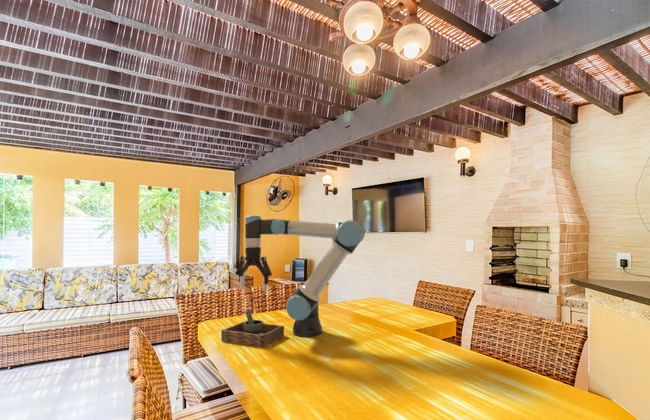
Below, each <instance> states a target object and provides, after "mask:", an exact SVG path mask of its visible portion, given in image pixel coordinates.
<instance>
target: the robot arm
mask: <svg viewBox="0 0 650 420" xmlns="http://www.w3.org/2000/svg"><path fill="white" fill-rule="evenodd" d="M244 221H245V224H244V226H245V227H244V232H245V235H244V236H245V237H244V238H245V240H244V242H245V243H244V245H245V249H244V250H245V255H244V256H240V260H239V263H238V265H237V268H236V269H235V276H238V282H239V290H245V287H246V286H245V282H246V281H245V280H246V279H245V275H244V274H245V273H246V272H247V270H248V269H249V267H250V266H253V267H256V268H257V269H258V271H260V273H261V275H262V276H263V277H262V292H266V291H268V284H269V277H271V276H273V273H272V271H271V269H270V267H269V264H268V260H267V257H266V256H261V254H262V249H261V248H262V247H261V246H262V245H261V243H262V240H261V239H262V235H275V236H276V235H289V236H300V237H308V238H309V237H312V238H320V239H321V238H323V239H331V242H332V243H331V246H330V247H329V249H328V250H327V251H326V252H325V254H324V255H323V257H322V259H321V260H320V262H319V263H318V264H317V265H316V267H315V268H314V270H313V272H311V273H310V274H311V275H309V277H308V278H307V280H306V281H305V283H304V284H301V285H299V286H298V287H296V288H295V291H294V293H293V294H292V296H290V297H289V299H288V300H287V302H286V305H285V309H286V313H287V315H288V316H289V317H290V318H291V319H293V320H294V323H293V326H292V335H295V336H298V337H314V336H319V335H321V334H322V333H323V326H322V324H321V319H320V318H319V317H320V316H319V313H320V311H319V302H320V294H321V293H322V291H323V290H324V289H325V287H326V286H327V284H328V283H329V281H330V280H331V279H332V277H333V276H334V274H335V273H336V272H337V270H338V269H339V267H340V266H341V265H342V263H343V261H344V260H345V258H346V257H347V256H348V255H353V253H354V251H355V250H356V248H357V247H358V245H359V244H360V243H361V242H362V241H363V240H364V238H365V233H366V231H365V228H364V226H363V225H362V224H361V223H360V222H357V221H355V220H345V221H343V222H337V223H330V222H329V223H326V222H315V221H314V222H313V221H310V222H309V221H299V220H285V219H282V218H281V219H279V218H271V219H270V218H269V219H262V217H261V215H246V216H245V220H244Z"/></svg>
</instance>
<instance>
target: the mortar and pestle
mask: <svg viewBox="0 0 650 420" xmlns="http://www.w3.org/2000/svg"><path fill="white" fill-rule="evenodd" d="M245 315H246V322H244V321H243V322H244V323H243V328H244V331H245V333H250V334H258V335H260V334H259V333H260V332H261V331H262V328H263V323H264V321H263V320H261V319H254V318H253V315H252V311H251V310H247V311H245Z"/></svg>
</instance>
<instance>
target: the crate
mask: <svg viewBox="0 0 650 420" xmlns="http://www.w3.org/2000/svg"><path fill="white" fill-rule="evenodd" d="M246 321H247V320H246ZM246 321H242V322H240V323H236V324H234V325H231V326H229V327H226V328H223V329H222V330H221V335H220V336H221V339H220V340H221V342H226V343H233V344H239V345H246V346H253V347H259V348H264V347H266V346H268V345H270V344H272V343H273V342H276V341H277V340H279V339H282V338H283V337H284V336H285V326H284V325H280V324H279V325H278V324H270V323H264V322H263V328H262V331H261V332H260V333H259V334H260V335H258V334H250V333H245V331H244V328H243V323H244V322H246ZM275 340H276V341H275Z"/></svg>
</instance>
